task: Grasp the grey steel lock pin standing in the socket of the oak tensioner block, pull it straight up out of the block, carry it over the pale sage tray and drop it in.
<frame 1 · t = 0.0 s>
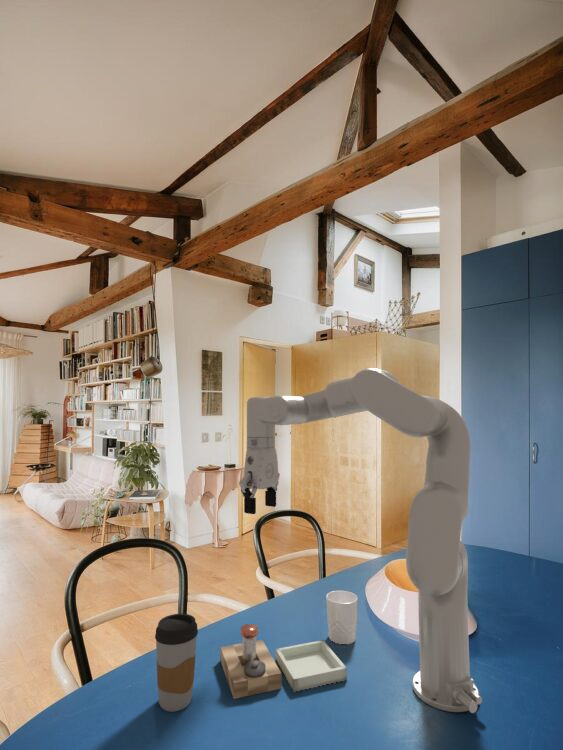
hand: (260, 509, 114), 31 cm above the table, tool pointing down, fingers open, 9 cm apart
lock pin: (249, 674, 95), resting in tensioner block
white cup: (342, 638, 109), on the table
tensioner block: (249, 673, 95), on the table
tray: (309, 670, 96), on the table
coffee cup: (175, 702, 86), on the table
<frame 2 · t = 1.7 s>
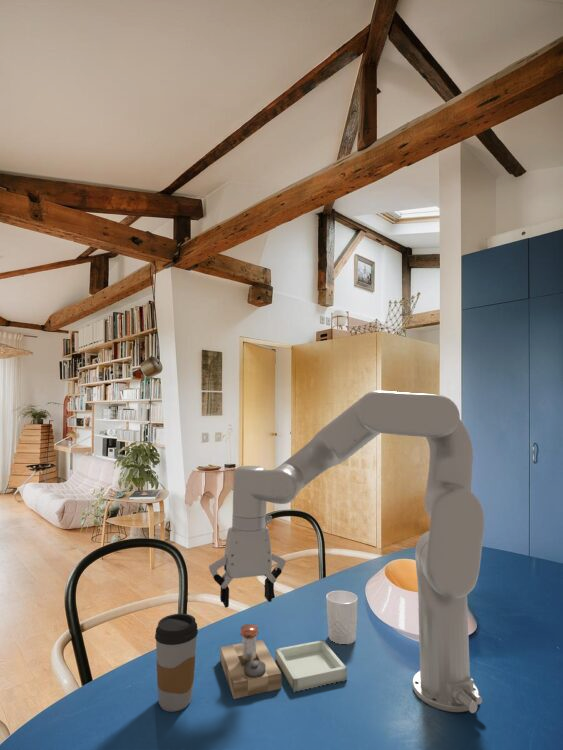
hand: (247, 602, 96), 15 cm above the table, tool pointing down, fingers open, 9 cm apart
nothing on the table moved.
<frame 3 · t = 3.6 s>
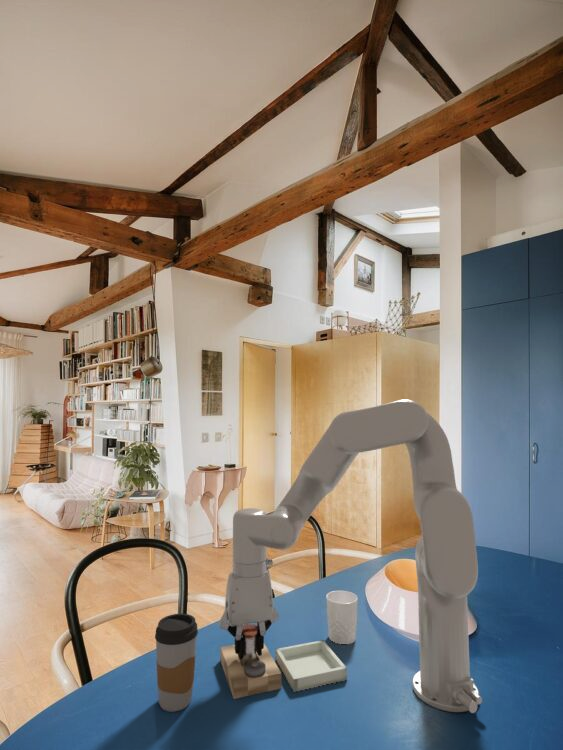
hand: (249, 653, 95), 4 cm above the table, tool pointing down, fingers closed on lock pin, 3 cm apart
lock pin: (249, 674, 95), resting in tensioner block, touching gripper
everything else where it was.
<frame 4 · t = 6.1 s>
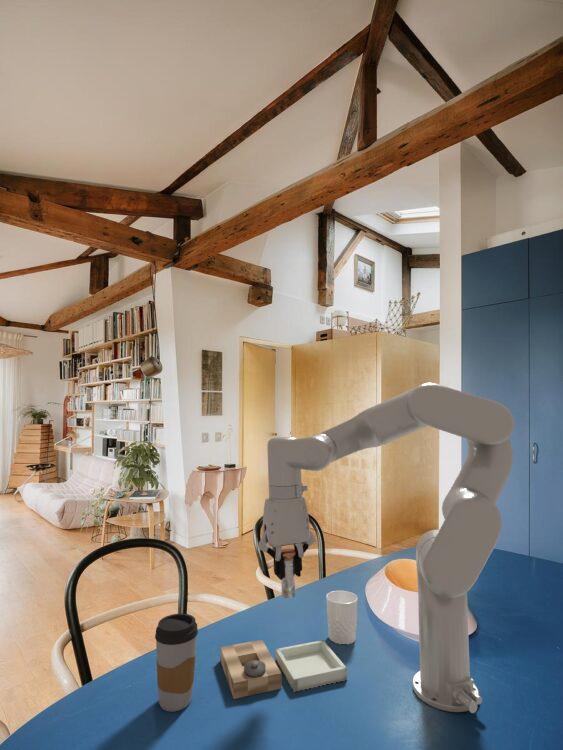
hand: (288, 575, 97), 20 cm above the table, tool pointing down, fingers closed on lock pin, 3 cm apart
lock pin: (288, 595, 97), point 16 cm above the table, touching gripper
everything else where it was.
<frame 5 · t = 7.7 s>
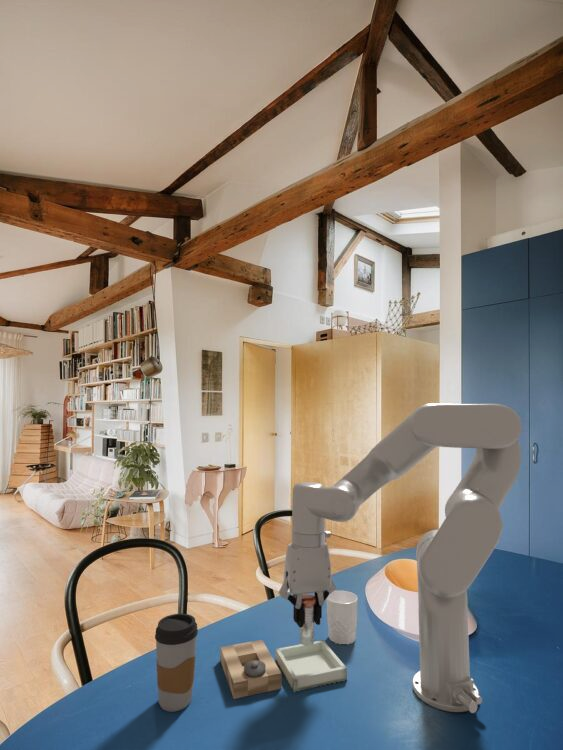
hand: (307, 622, 97), 10 cm above the table, tool pointing down, fingers closed on lock pin, 3 cm apart
lock pin: (306, 642, 97), point 6 cm above the table, touching gripper
everything else where it was.
when the fingers open (7 cm above the table, at t = 8.7 s): lock pin drops 2 cm, resting on tray.
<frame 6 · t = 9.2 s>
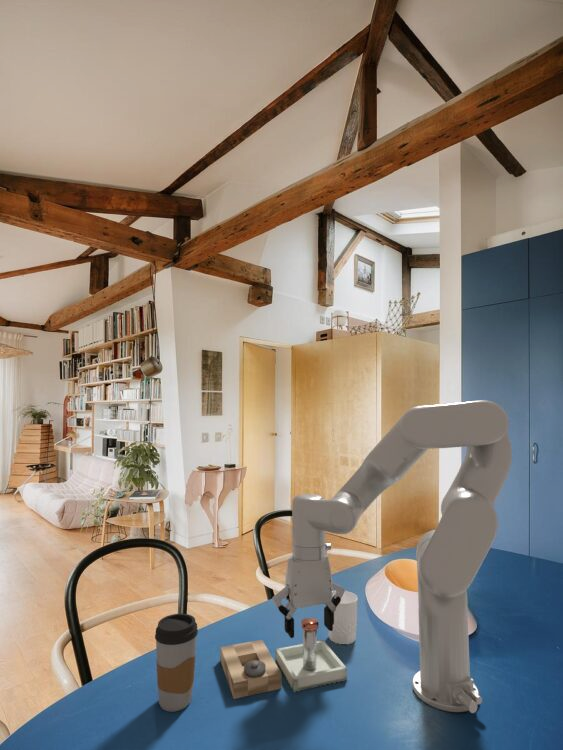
hand: (309, 631, 97), 8 cm above the table, tool pointing down, fingers open, 8 cm apart
lock pin: (309, 667, 96), point 1 cm above the table, touching tray
everything else where it was.
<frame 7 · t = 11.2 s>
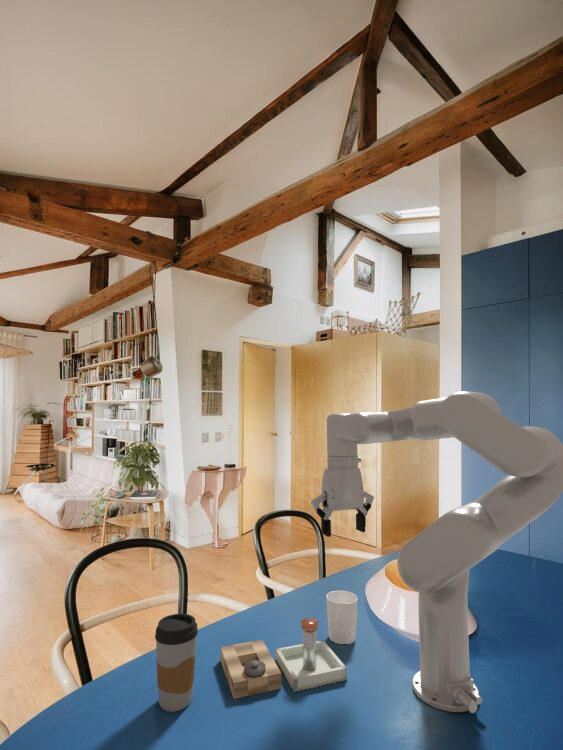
hand: (343, 533, 107), 27 cm above the table, tool pointing down, fingers open, 9 cm apart
nothing on the table moved.
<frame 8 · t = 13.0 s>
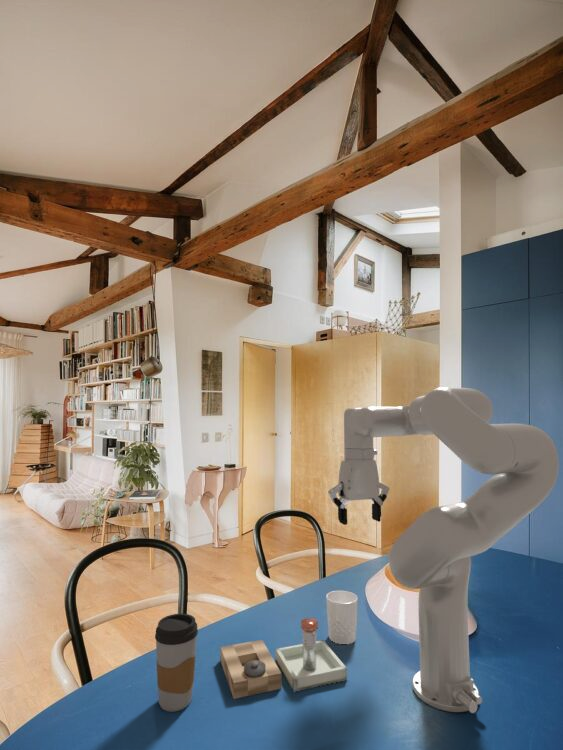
hand: (359, 521, 113), 28 cm above the table, tool pointing down, fingers open, 9 cm apart
nothing on the table moved.
at the end: lock pin inside the target area on the tray (0.0 cm from its centre), point 0.6 cm above the tray's base; the gripper is holding nothing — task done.
